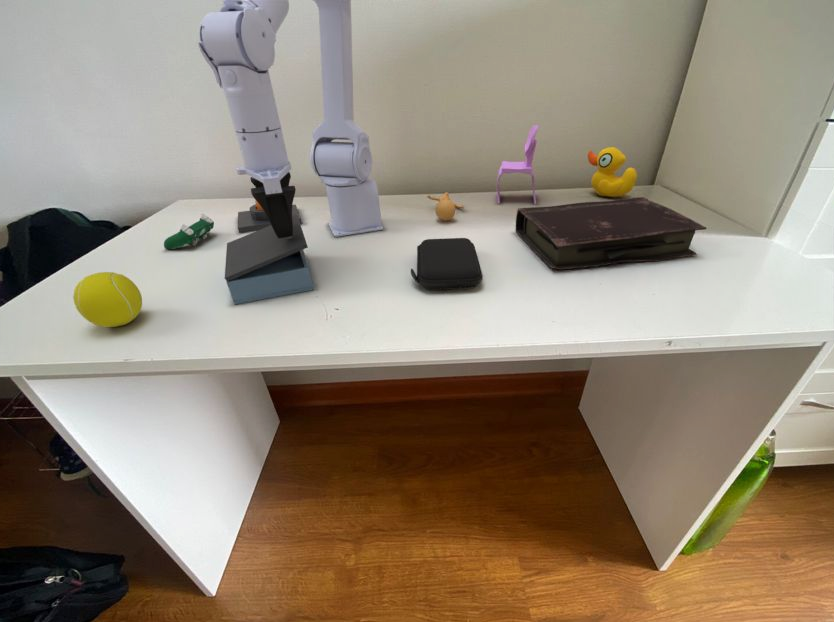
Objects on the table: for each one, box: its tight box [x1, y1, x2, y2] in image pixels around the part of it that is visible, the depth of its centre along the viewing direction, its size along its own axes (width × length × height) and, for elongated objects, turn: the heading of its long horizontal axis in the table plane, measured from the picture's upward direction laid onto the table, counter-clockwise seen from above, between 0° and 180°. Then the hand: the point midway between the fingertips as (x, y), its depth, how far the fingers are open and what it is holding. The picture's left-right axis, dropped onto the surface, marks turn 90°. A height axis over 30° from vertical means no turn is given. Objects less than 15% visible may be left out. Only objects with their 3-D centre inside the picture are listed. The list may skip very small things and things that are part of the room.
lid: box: [224, 215, 309, 282], centre depth 62 cm, size 12×13×4 cm
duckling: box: [587, 146, 638, 198], centre depth 92 cm, size 11×5×10 cm, turn 51°
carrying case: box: [410, 237, 484, 291], centre depth 66 cm, size 11×3×15 cm
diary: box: [515, 196, 707, 270], centre depth 72 cm, size 19×25×5 cm
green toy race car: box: [163, 213, 215, 250], centre depth 78 cm, size 9×4×6 cm
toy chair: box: [496, 124, 539, 205], centre depth 90 cm, size 8×9×15 cm
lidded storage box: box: [226, 249, 314, 305], centre depth 65 cm, size 11×13×4 cm
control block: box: [237, 203, 303, 234], centre depth 86 cm, size 12×10×3 cm
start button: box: [254, 199, 263, 210], centre depth 85 cm, size 4×4×2 cm
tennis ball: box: [73, 271, 143, 328], centre depth 55 cm, size 7×7×7 cm
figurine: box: [426, 191, 465, 222], centre depth 87 cm, size 8×6×12 cm
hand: (283, 229), depth 63 cm, fingers closed on lid, 5 cm apart
